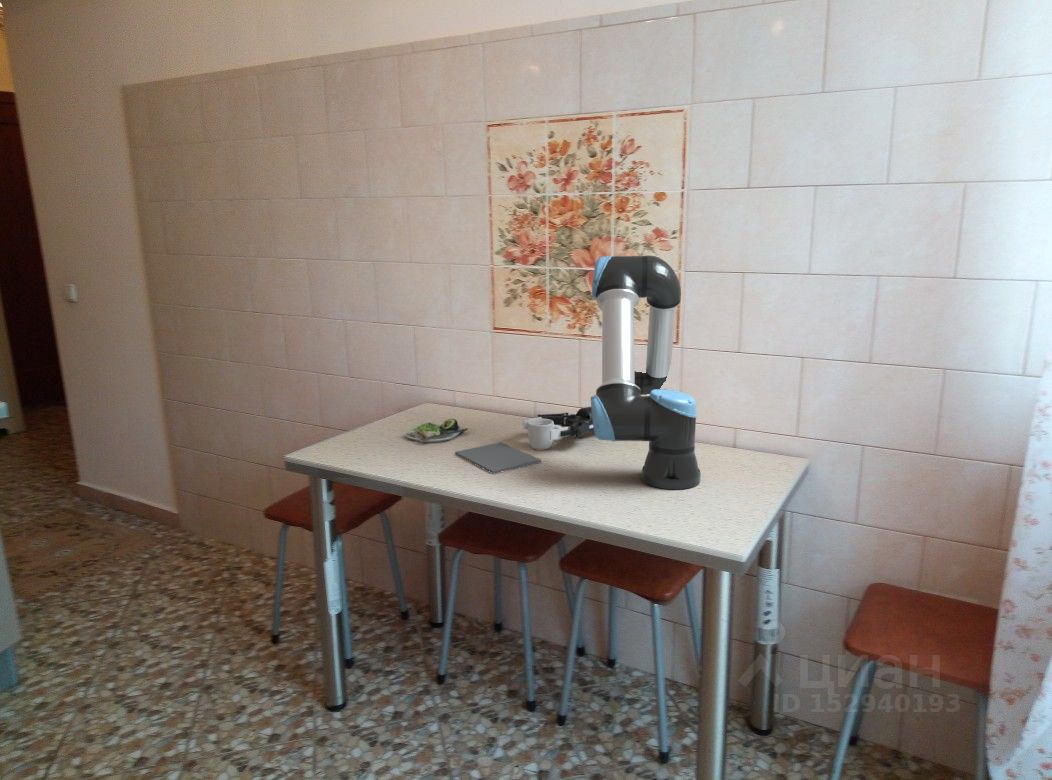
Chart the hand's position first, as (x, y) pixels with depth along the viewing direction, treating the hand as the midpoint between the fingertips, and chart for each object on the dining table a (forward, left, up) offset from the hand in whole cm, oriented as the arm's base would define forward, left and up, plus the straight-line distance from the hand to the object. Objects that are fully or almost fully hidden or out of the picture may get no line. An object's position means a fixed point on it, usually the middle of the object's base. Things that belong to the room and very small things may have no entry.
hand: (536, 430), depth 216 cm
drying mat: (0, +14, -6) cm, 15 cm away
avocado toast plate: (+32, +17, -7) cm, 37 cm away
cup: (0, -3, -6) cm, 7 cm away
